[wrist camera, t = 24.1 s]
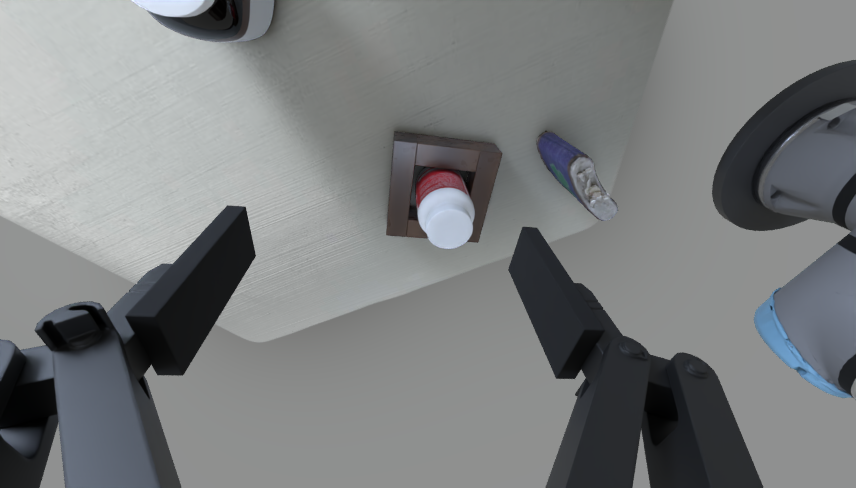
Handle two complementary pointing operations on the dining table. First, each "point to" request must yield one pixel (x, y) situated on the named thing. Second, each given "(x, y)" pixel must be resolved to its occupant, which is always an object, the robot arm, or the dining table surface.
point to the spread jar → (213, 17)
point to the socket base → (439, 154)
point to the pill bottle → (444, 207)
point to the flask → (576, 174)
